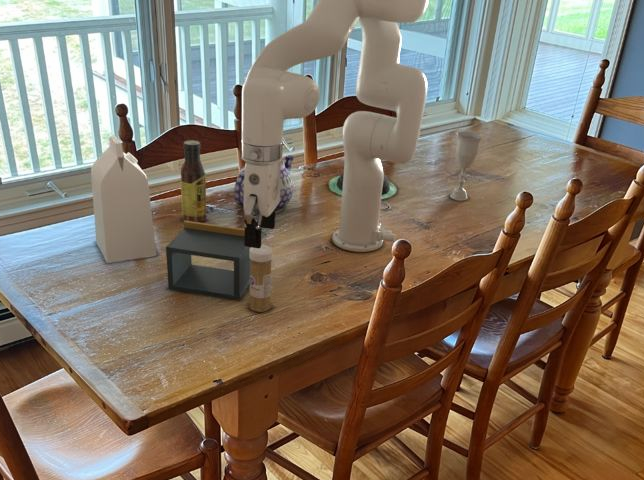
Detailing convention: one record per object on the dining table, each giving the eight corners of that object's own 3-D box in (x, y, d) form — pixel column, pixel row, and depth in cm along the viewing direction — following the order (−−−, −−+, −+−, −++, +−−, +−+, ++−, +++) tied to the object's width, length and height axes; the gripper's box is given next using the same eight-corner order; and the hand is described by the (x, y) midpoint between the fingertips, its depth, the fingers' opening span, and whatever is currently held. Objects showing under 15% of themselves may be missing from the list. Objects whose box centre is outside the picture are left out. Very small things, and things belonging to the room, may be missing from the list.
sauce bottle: (202, 225, 185) (199, 148, 173) (178, 222, 185) (174, 145, 174) (210, 215, 190) (207, 140, 179) (187, 212, 191) (183, 137, 180)
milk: (96, 242, 174) (82, 133, 159) (143, 235, 178) (134, 129, 163) (107, 263, 165) (93, 150, 150) (156, 255, 169) (148, 145, 154)
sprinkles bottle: (244, 307, 151) (244, 248, 143) (259, 299, 154) (260, 241, 146) (260, 315, 148) (261, 255, 141) (275, 307, 151) (277, 248, 144)
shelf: (254, 277, 162) (254, 230, 156) (239, 300, 153) (239, 251, 147) (186, 267, 165) (184, 220, 158) (168, 289, 156) (165, 240, 149)
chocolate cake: (394, 201, 202) (323, 196, 204) (395, 210, 220) (330, 205, 222) (400, 146, 200) (328, 142, 203) (400, 160, 219) (334, 155, 221)
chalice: (443, 198, 208) (453, 136, 198) (448, 191, 213) (459, 129, 203) (468, 203, 206) (480, 140, 195) (473, 195, 211) (485, 133, 201)
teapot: (256, 228, 184) (257, 171, 176) (212, 212, 192) (210, 156, 183) (314, 201, 201) (317, 148, 193) (272, 187, 209) (273, 135, 200)
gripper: (269, 167, 125) (266, 257, 134) (293, 140, 139) (289, 223, 148) (227, 162, 126) (227, 252, 135) (255, 135, 140) (254, 218, 150)
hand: (259, 237), depth 142 cm, fingers open, 9 cm apart
